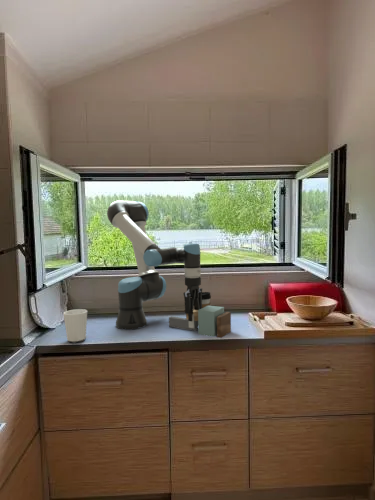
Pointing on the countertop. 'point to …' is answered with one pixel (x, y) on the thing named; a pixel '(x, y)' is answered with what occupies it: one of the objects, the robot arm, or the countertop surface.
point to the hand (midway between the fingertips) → (194, 326)
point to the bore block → (209, 320)
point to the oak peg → (194, 315)
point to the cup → (75, 325)
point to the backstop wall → (223, 324)
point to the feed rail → (181, 323)
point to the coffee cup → (205, 299)
